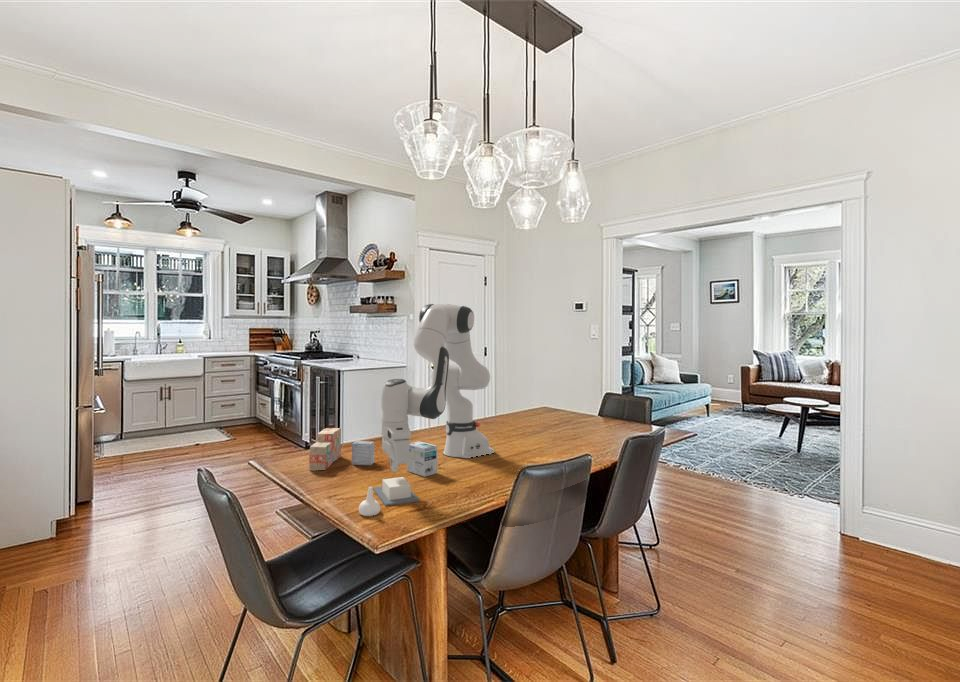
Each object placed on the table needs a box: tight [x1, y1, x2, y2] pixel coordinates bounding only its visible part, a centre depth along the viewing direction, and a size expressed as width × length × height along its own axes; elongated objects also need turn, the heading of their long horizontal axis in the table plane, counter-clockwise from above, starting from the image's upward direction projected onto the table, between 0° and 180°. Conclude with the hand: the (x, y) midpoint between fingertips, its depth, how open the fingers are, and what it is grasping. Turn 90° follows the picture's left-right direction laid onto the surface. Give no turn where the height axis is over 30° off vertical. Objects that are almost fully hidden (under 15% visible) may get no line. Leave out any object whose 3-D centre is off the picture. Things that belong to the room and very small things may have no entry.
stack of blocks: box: [308, 427, 342, 471], centre depth 197 cm, size 21×6×12 cm, turn 1°
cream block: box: [381, 476, 412, 500], centre depth 160 cm, size 7×4×9 cm
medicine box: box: [351, 440, 375, 466], centre depth 197 cm, size 8×4×9 cm, turn 84°
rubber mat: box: [372, 485, 421, 507], centre depth 161 cm, size 11×17×1 cm, turn 25°
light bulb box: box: [406, 440, 438, 477], centre depth 187 cm, size 11×7×11 cm, turn 47°
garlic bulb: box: [358, 486, 381, 517], centre depth 146 cm, size 6×6×8 cm
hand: (394, 470), depth 162 cm, fingers closed
